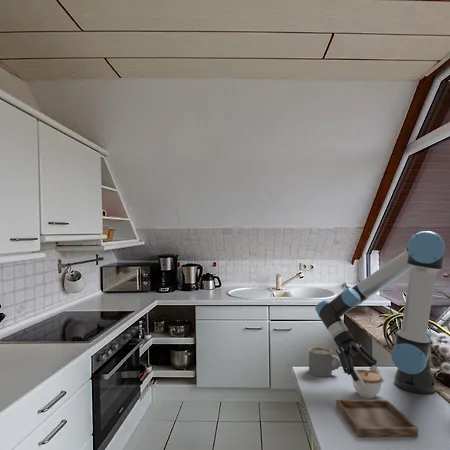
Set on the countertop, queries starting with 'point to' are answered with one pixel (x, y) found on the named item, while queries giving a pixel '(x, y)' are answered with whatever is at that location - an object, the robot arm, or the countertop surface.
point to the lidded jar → (368, 383)
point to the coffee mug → (322, 362)
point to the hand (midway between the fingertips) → (373, 385)
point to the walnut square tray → (376, 418)
